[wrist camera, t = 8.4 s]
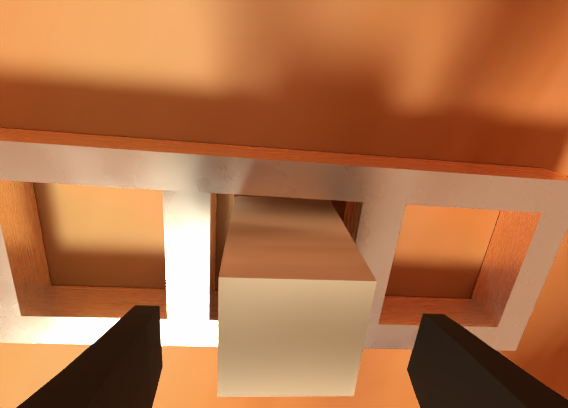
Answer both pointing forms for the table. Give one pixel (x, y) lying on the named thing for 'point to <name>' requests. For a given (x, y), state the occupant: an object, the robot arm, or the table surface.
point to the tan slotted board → (276, 183)
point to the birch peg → (290, 301)
